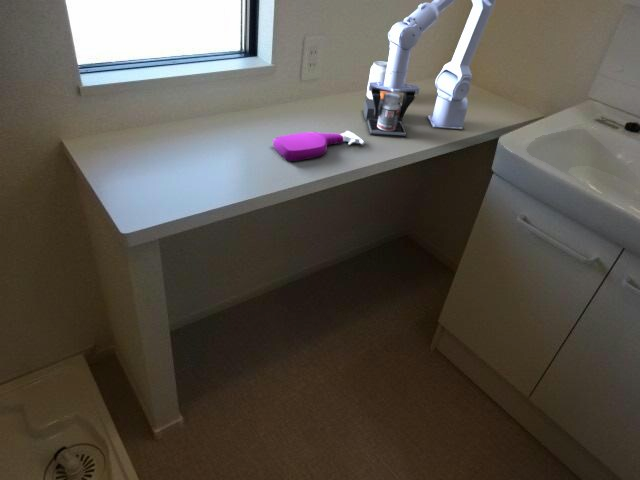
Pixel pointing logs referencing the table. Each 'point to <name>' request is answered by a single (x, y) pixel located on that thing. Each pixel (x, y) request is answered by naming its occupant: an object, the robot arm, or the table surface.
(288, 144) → the spray bottle
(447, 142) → the table surface
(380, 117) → the pill bottle
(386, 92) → the button
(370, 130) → the drip tray
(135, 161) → the table surface
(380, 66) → the can
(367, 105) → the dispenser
